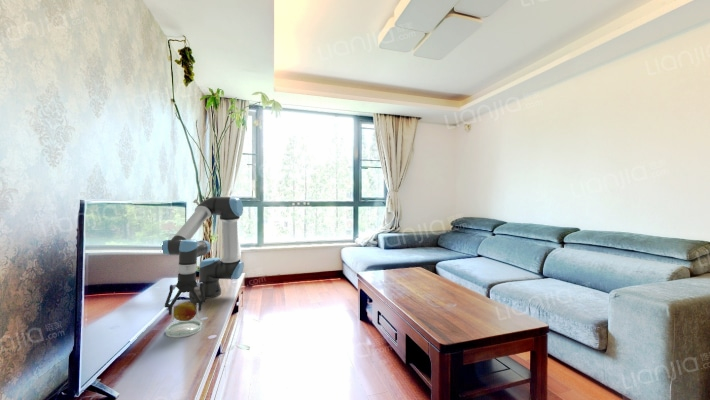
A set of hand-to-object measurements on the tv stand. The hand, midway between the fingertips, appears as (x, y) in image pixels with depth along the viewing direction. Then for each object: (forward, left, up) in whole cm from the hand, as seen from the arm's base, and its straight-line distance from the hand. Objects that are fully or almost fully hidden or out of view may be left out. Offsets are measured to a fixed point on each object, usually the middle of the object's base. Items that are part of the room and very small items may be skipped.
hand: (184, 319), depth 134 cm
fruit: (0, 0, -1) cm, 1 cm away
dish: (0, 0, -5) cm, 5 cm away
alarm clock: (-30, +5, -5) cm, 31 cm away
